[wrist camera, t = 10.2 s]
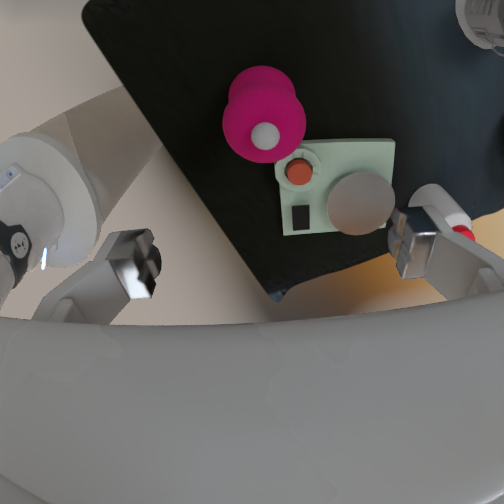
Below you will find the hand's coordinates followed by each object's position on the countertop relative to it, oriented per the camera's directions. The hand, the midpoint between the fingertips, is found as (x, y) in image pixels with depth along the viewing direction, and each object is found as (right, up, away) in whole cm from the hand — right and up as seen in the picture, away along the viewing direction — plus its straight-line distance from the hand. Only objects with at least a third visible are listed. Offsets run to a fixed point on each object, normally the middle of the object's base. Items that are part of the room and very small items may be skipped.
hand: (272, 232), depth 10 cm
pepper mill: (0, +19, +23) cm, 30 cm away
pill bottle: (+27, +7, +32) cm, 43 cm away
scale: (+11, +9, +31) cm, 34 cm away
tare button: (+5, +10, +27) cm, 29 cm away
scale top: (+12, +6, +29) cm, 32 cm away
